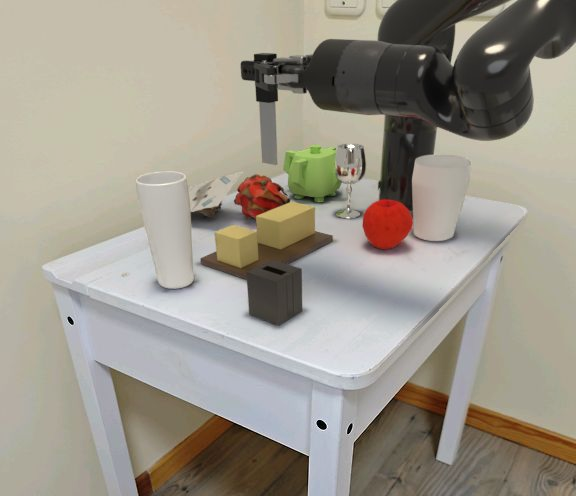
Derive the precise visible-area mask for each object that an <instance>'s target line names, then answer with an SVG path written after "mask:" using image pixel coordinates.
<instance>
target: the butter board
mask: <svg viewBox="0 0 576 496" xmlns="http://www.w3.org/2000/svg"><path fill="white" fill-rule="evenodd" d="M333 241H334V235H332V234H328V233H326V232H325V233H324V232H320V231H317V230H315V233H314V234H312V235H310V236H308V237H306V238H304V239H302V240H300V241H298V242H296V243H294V244H291V245H289V246H287V247H285V248H283V249H281V250H280V249H277V248H274V247H270V246H267V245H263V244H260V243H258V260H257V261H255V262H253V263H251V264H249V265H247V266H244V267H242V268H239V267H236V266H233V265H230V264H227V263H224V262H221V261H218V260H217V251H216V250H215V251H213V252H212V253H209V254H207V255H204V256H202V257H200V264H201V265H202V266H205V267H208V268H210V269H211V268H212V269H213V270H214V269H215V270H217V271H220V272H223V273H226V274H229V275H231V276H235V277H238V278H241V279H243V280H246V281H247V275H246V272H248V271H250V270H252V269H254V268H256V267H258V266H260V265H262V264H264V263H266V262H268V261H270V260H275V261H278V262H282V263H285V264H288V265H290V264H291V263H293V262H295V261H296V260H297V261H298V260H299V259H300V258H302V257H305V256H306V255H309V254H310V253H312V252H314V251H317V250H318V249H320V248H322V247H325V246H326V245H328V244H330V243H332V242H333ZM257 242H258V240H257Z"/></svg>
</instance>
